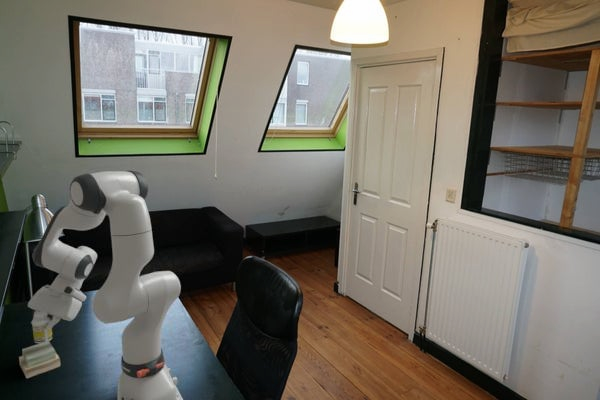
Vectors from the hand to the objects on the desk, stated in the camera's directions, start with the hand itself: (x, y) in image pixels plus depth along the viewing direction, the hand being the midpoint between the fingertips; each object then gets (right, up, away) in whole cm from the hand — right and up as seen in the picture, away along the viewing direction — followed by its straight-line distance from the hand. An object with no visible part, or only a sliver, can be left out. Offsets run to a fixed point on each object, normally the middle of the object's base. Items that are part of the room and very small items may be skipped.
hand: (40, 326), depth 139 cm
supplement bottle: (0, -5, +2) cm, 5 cm away
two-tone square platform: (-1, -14, +2) cm, 14 cm away
